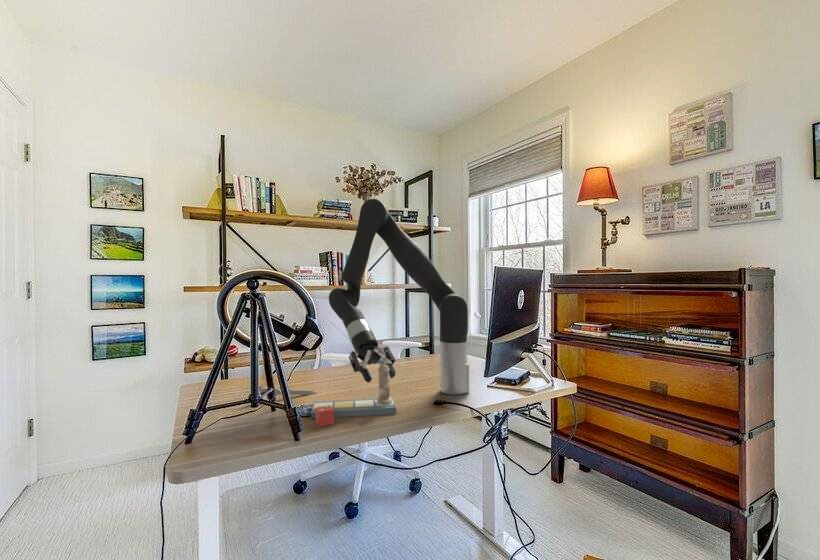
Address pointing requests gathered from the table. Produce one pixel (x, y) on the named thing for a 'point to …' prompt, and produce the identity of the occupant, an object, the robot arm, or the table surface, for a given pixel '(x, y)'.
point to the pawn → (384, 385)
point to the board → (356, 407)
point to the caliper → (293, 392)
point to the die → (324, 415)
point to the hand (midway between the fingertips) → (381, 378)
